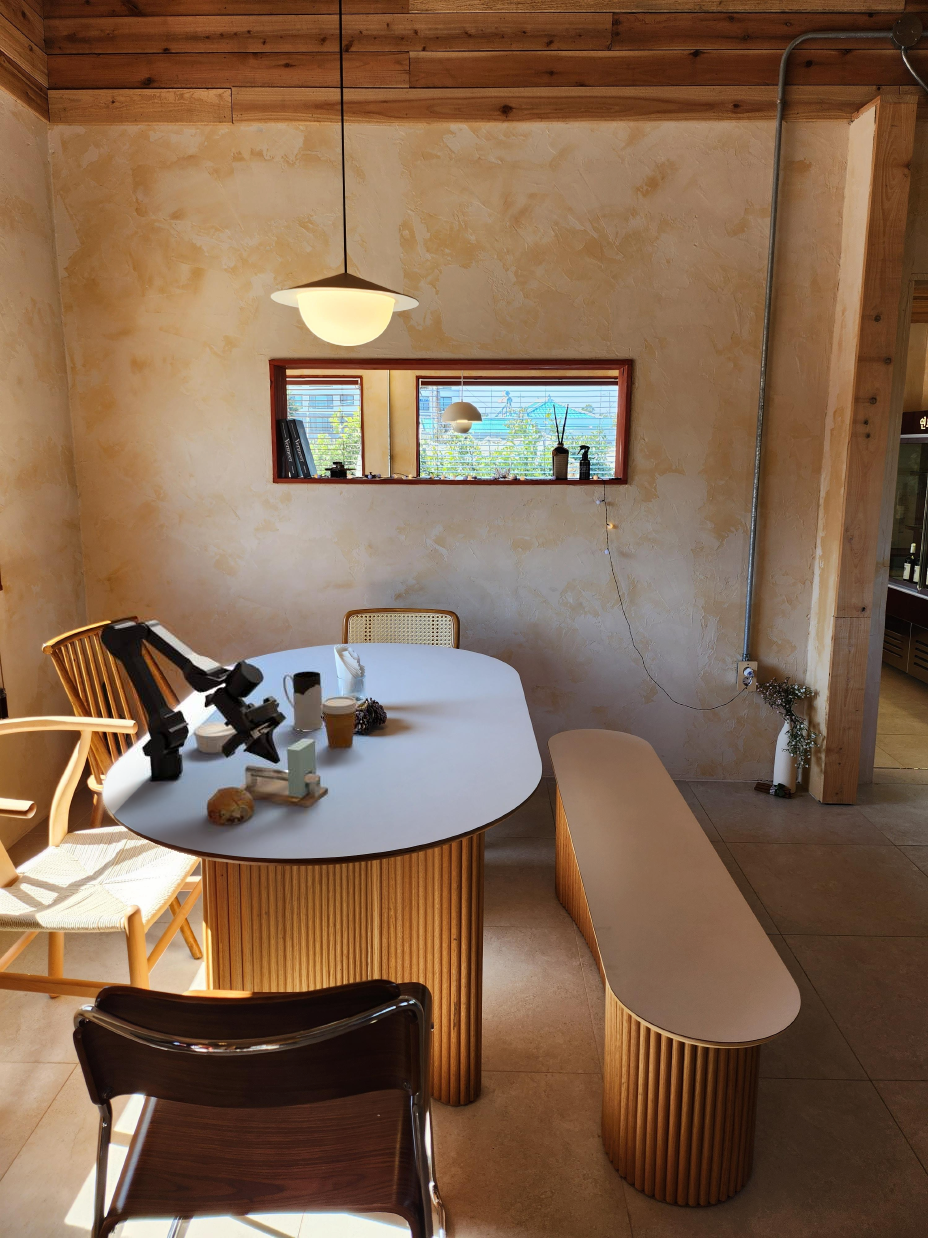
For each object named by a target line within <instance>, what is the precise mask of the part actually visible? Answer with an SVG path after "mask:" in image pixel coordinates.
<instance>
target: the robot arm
mask: <svg viewBox="0 0 928 1238" xmlns="http://www.w3.org/2000/svg"><path fill="white" fill-rule="evenodd" d="M100 640H101V643H102V645H103V646H104V647H105V649H106V651H107V652H108V654H109V655H111V656H112V657H114V658H115V659H117V660H118V661H119V662H120V663H121V664H122V666H123V668H124V670H125V673H126V675H127V676H128V678H129V681H130V682H131V684H132V686H133V688H134V690H135V693H136V694H137V696H138V698H139V700H140V702H141V704H142V707H143V708H144V710H145V712H146V715H147V718H148V723H147V731H148V734H149V737H150V738H149V739H148V741H146V742H145V744H144V745H143V746H142V747H141V750H142V753H143V755H144V756H145V757H148V758H149V761H150V763H149V764H150V775H151V776H150V778H149V782H157V781H159V782H160V781H161V782H162V781H172V780H179V779H180V776H181V775H182V773H183V770H184V767H183V766H184V765H183V763H184V762H183V755H182V754H181V753H180V749H181V748H183V747H184V746H185V743H186V740H187V739H188V736H189V734H190V729H189V727H188V726H189V725H190V723H188V722H187V720H186V719H185V716H184V713H183V711H182V710H180V709H179V710H176V711H175V710H173V709H172V708H171V707H170V706H169V705H168V703H167V701H166V699H165V697H164V695H163V692H162V691H161V689H160V687H159V685H158V683H157V680H156V679H155V677H154V674H153V673H152V671H151V669H150V667H149V665H148V663H147V661H146V659H145V657H144V654H143V641H145V642H146V643H148V645H150V646H151V647H152V648H153V649H155V650H156V651H157V652H159V653H160V654H161V655H162V656H163V657H165V658H166V659H167V660H168V661H170V662H171V663H172V664H173V665H175V666H176V667H177V669H179V670H180V671H181V673H182V674H183V675H182V676H183V678H184V680H185V681H186V683H187V684H189V686H190V687H191V688H192V689H193V690H194V691H195V692H197V693H200V694H201V693H207V692H209V691H212V690H213V689H215V690H214V691H213V692H211V693H208V694H206V695H205V696H204V700H205V701H204V706H203V707H204V708H209V707H211V706H214V707H215V708H216V710H217V711H218V712H219V713H220V714H221V715H222V717H223V718H224V719H225V720H226V721H224V722H225V723H224V724H225V725H226V727H228V726H230V725H231V726H232V728H233V729H234V730H235V731H236V732H237V733H236V734H234V735H232V736H231V737H230V738H229V739H228V740H227V741H226V742H225V743H224V744H223V745H222V746H221V749H222V752H221V753H222V755H224V757H225V758H226V759H229V758H230V757H232V756H233V755H235V754H236V751H237V750H238V748H240V747H241V746H243V745H244V747H245V748H244V749H243V750H242V752H243V753H249V754H251V755H254V756H257V757H260V758H261V759H263V760H265V761H268V762H271V763H273V764H275V765H277V764H279V763H280V762H281V758H280V755H279V753H278V750H277V748H276V745H275V743H274V732H275V730H276V729H277V728H278V727H279V726H280V725H281V724H282V723H283V722H284V721H285V720H286V719H287V717H286V716H285V714H284V713H283V712H282V711H279V710H278V708H279V706H280V702H279V701H278V699H276V698H275V697H274V696H273V695H269V696H267V697H265V698H263V700H262V703H261V704H259V705H257V706H256V705H255V704H254V703H253V702H249V703H247V702H246V701H245V700H244V699H246V698H248V697H249V696H250V695H251V694H252V693H253V692H254V691H255V690H256V689H257V687H258V686H260V685H261V684H262V683H263V681H264V680H265V679H264V674H263V672H262V670H260V668H259V667H257V666H256V665H253V664H252V663H247V662H246V660H245V659H241V660H240V661H238V662H237V663H236V664H235V665H234V667H233V669H229V668H226V667H224V666H222V665H221V664H220V663H219V662H217V661H216V660H213V659H211V658H209V657H206V656H204V655H203V656H202V655H199V654H198V653H196V652H194V651H193V650H192V649H190V647H188V646H187V645H186V644H184V643H183V642H182V641H181V640H179V639H178V638H177V637H176V636H174V635H173V634H172V633H171V632H169V631H168V630H167V629H166V628H164V627H163V626H162V625H161V623H160V621H158V620H155V619H150V620H146V621H138V622H135V621H131V620H128V619H126V620H122V621H119V622H116V623H111V624H108V625H105V626H104V627H103V628H102V630H101V633H100ZM223 685H224V686H223Z"/></svg>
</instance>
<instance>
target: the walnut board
mask: <svg viewBox="0 0 928 1238" xmlns="http://www.w3.org/2000/svg"><path fill="white" fill-rule="evenodd" d="M239 788H240V789H243V790H246V791H247V792H249V793H250V795H251V796H252V798H253V800H258V801H259V800H261V801H265V802H272V803H278V804H285V805H291V806H296V807H304V808H310V807H311V806H312V805H314V804H315V803H316V802H317V801H318V800H320V799H321V798H322V797H323V796H325V795H326V794H327V793H328V792H329V787H326V786H321V793H320V794H319V795H318V796H317V797H310V794H309V792H308V793H307V794H305V795H304V796H303V797H301V798H299V797H293V796H289V784H288V782H287V781H280V780H274V779H267V778H260V777H257V784H256V785H254V786H253V787H246V783H245V784H243V785H241V786H240V787H239Z"/></svg>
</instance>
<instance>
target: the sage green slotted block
mask: <svg viewBox="0 0 928 1238" xmlns="http://www.w3.org/2000/svg"><path fill="white" fill-rule="evenodd" d="M286 755H287V757H286V758H287V771H288V784H289V796H293V797H299V798H301V797H303V796H304V795H305V794H307V793H308V792H309V785H307V784H305V774H307V773H308V774H315V775H317V763H316V762H317V761H316V760H317V759H316V758H317V757H316V740H315V739H311V738H302V739H301V740H298V742H296V743H293V745H290V746H289V747H288V748H286Z"/></svg>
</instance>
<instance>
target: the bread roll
mask: <svg viewBox="0 0 928 1238" xmlns="http://www.w3.org/2000/svg"><path fill="white" fill-rule="evenodd" d="M206 813H207V817H208V818H207V819H208V821H209V822H210V823H212V824H214V825H217V826H230V825H232V826H233V825H237V824H239V823H240V824H241V823H242V822H244V821H246V820H248V819H250V818H251V817H252V816H253V814H255V799H253V798H252V796H251V795H250V793H249V792H247V791H246V790H243V789H240V787H236V786H229V787H222V788H218V789H217V791H216V792H215V793H213V795H212V796H211V797H210V798H209V799H208V801H207V802H206Z"/></svg>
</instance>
